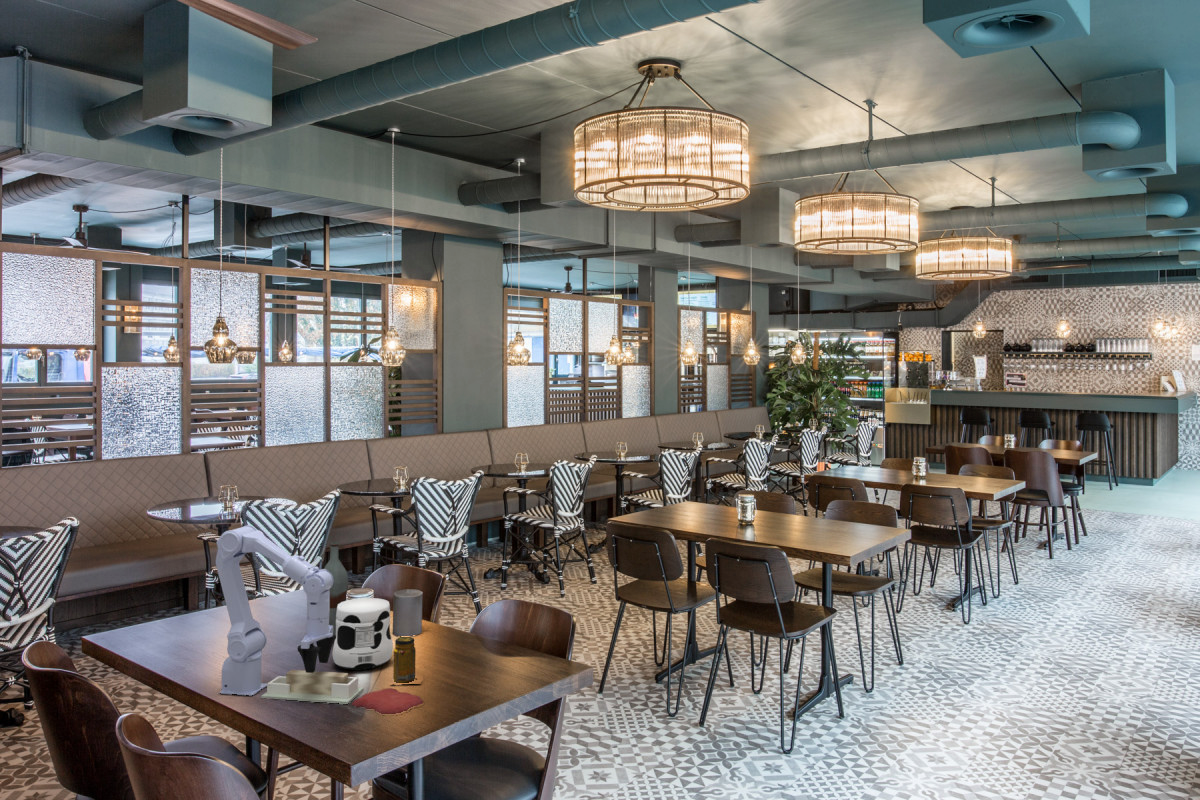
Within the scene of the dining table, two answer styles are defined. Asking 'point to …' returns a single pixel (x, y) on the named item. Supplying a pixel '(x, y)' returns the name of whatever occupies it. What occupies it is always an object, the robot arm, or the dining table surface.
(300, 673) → the slat
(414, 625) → the pillar candle
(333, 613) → the bottle
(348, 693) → the end caps
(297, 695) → the cap board
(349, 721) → the dining table surface
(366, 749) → the dining table surface
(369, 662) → the milk container
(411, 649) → the condiment
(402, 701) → the patty
